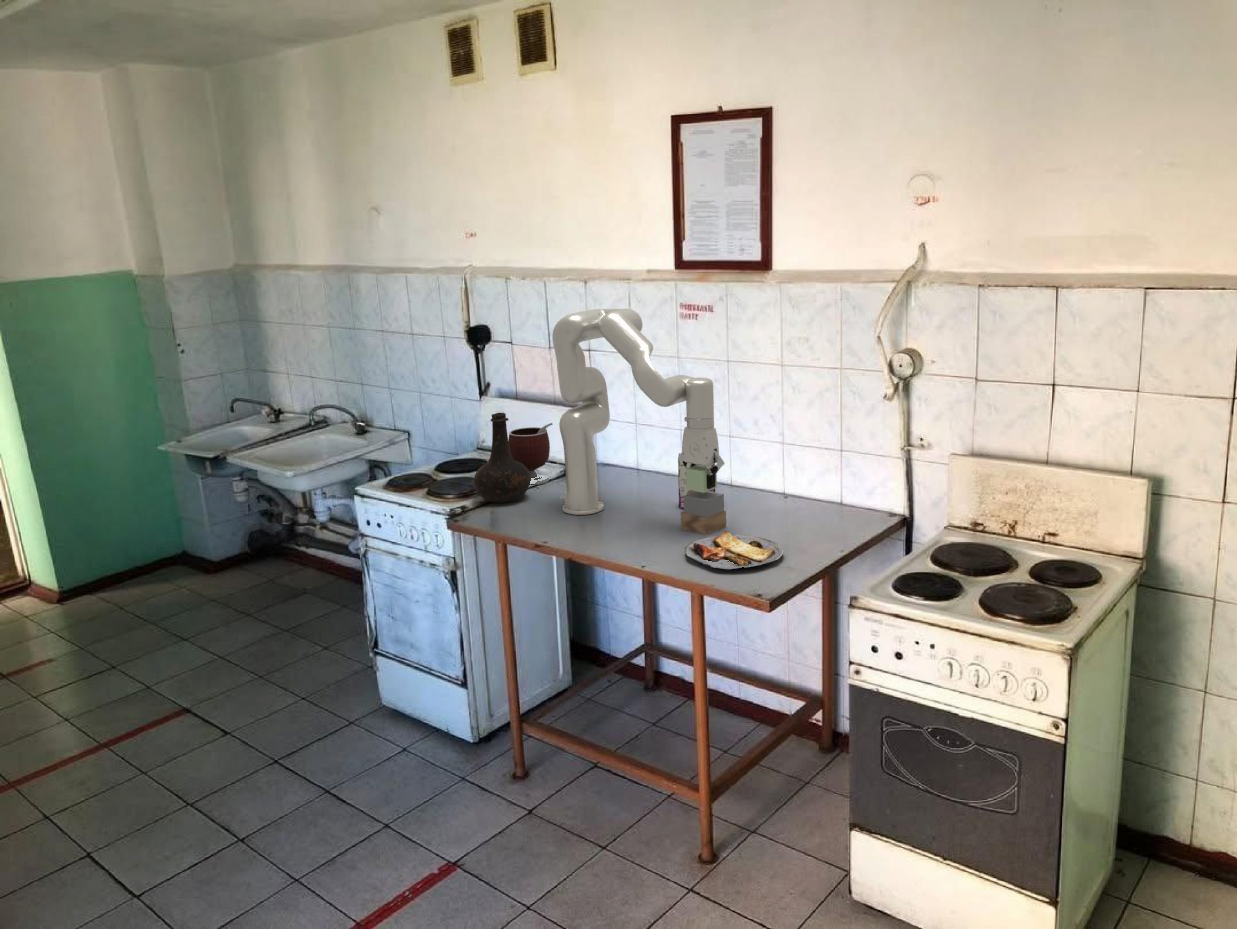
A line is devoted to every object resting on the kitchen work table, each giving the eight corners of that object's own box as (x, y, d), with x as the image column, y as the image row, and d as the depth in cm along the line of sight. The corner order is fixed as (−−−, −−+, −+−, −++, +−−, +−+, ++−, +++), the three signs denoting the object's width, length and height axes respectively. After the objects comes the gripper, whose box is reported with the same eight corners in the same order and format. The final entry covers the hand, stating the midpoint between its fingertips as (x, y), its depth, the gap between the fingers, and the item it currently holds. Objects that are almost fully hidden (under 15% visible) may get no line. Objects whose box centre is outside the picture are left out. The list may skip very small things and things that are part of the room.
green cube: (686, 489, 280) (686, 468, 278) (700, 484, 284) (699, 463, 283) (703, 492, 276) (703, 471, 274) (716, 487, 280) (716, 466, 279)
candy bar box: (678, 509, 301) (677, 456, 297) (679, 504, 306) (677, 452, 302) (716, 508, 300) (715, 455, 296) (716, 503, 305) (715, 451, 300)
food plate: (667, 554, 263) (667, 541, 262) (734, 535, 275) (734, 523, 275) (731, 582, 243) (731, 569, 242) (800, 561, 256) (800, 548, 255)
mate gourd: (506, 485, 335) (501, 427, 330) (517, 474, 349) (512, 418, 344) (551, 486, 333) (547, 427, 328) (560, 474, 346) (556, 418, 341)
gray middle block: (683, 512, 281) (683, 495, 280) (701, 506, 287) (701, 489, 286) (706, 518, 276) (705, 500, 275) (724, 511, 282) (723, 493, 280)
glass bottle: (469, 507, 313) (462, 420, 306) (483, 491, 330) (476, 408, 323) (525, 507, 310) (519, 419, 303) (536, 491, 327) (531, 407, 320)
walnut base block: (681, 529, 283) (680, 512, 282) (701, 521, 289) (701, 505, 288) (705, 535, 277) (705, 518, 276) (726, 527, 283) (725, 510, 282)
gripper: (667, 421, 278) (669, 484, 283) (716, 429, 267) (718, 494, 271) (684, 417, 284) (686, 478, 288) (733, 424, 272) (734, 487, 277)
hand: (701, 485), depth 280 cm, fingers closed on green cube, 5 cm apart
